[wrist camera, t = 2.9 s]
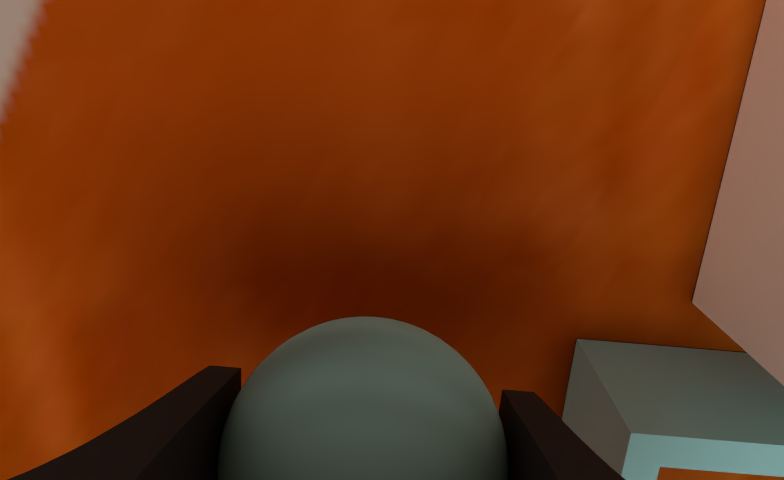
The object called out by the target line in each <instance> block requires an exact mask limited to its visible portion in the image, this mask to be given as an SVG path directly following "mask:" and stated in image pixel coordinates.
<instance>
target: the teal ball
mask: <svg viewBox="0 0 784 480" xmlns="http://www.w3.org/2000/svg"><path fill="white" fill-rule="evenodd" d="M508 469H509V465H508V451H507V444H506V438H505V433H504V429H503V425H502V421H501V419H500V416H499V413H498V411H497V408H496V406H495V403H494V401H493V398H492V396H491V395H490V393H489V391H488V389H487V388H486V386H485V384H484V383H483V381H482V380H481V378H480V377H479V375H478V374H477V373H476V371H475V370H474V369H473V368H472V366H471V365H470V364H469V363H468V362H467V361H466V360H465V359H464V358H463V357H462V356H461V355H460V354H459V353H458V352H457V351H456V350H455V349H453V348H452V347H451V346H449V345H448V344H447V343H445V342H444V341H443V340H441V339H440V338H438V337H437V336H435V335H433V334H431V333H429V332H428V331H426V330H424V329H421V328H419V327H417V326H414V325H412V324H409V323H405V322H402V321H398V320H394V319H388V318H381V317H363V316H359V317H349V318H341V319H337V320H332V321H328V322H325V323H322V324H319V325H316V326H314V327H311V328H309V329H307V330H305V331H303V332H301V333H299V334H297V335H295V336H293V337H291V338H290V339H289V340H287V341H286V342H284V343H283V344H281V345H280V346H278V347H277V348H276V349H275V350H274V351H273V352H272V353H271V354H270V355H269V356H267V357H266V358H265V359H264V360H263V361H262V362H261V363H260V364H259V365H258V366H257V368H256V369H255V370H254V371H253V373H252V374H251V375H250V376H249V377H248V379H247V381H246V382H245V384H244V385H243V387H242V389H241V390H240V392H239V394H238V395H237V397H236V399H235V400H234V403H233V405H232V408H231V410H230V413H229V415H228V418H227V420H226V423H225V426H224V429H223V434H222V438H221V442H220V448H219V455H218V469H217V475H218V480H508Z"/></svg>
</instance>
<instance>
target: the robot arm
mask: <svg viewBox="0 0 784 480" xmlns="http://www.w3.org/2000/svg"><path fill="white" fill-rule="evenodd" d="M240 390H241V368H233V367H221V366H208V367H207V368H205V369H203V370H202V371H200V372H198V373H197V374H195V375H194V376H192V377H191V378H189V379H188V380H187V381H185V382H184V383H182V384H181V385H179V386H178V387H176V388H175V389H173V390H172V391H170V392H169V393H167V394H166V395H164V396H163V397H161V398H160V399H158V400H157V401H155V402H154V403H152V404H151V405H149V406H148V407H146V408H144V409H143V410H141V411H140V412H138V413H137V414H135V415H133V416H132V417H130V418H128V419H127V420H125V421H123V422H122V423H120V424H118V425H116V426H115V427H113V428H111V429H110V430H108V431H106V432H105V433H103V434H101V435H100V436H98V437H96V438H94V439H93V440H91V441H89V442H87V443H85V444H83V445H82V446H80V447H78V448H76V449H74V450H72V451H70V452H68V453H66V454H64V455H62V456H60V457H58V458H56V459H53V460H51V461H49V462H47V463H45V464H43V465H41V466H39V467H37V468H34V469H32V470H30V471H28V472H25V473H23V474H20V475H18V476H15V477H13V478H10V479H8V480H218V475H217V469H218V455H219V448H220V442H221V438H222V434H223V429H224V426H225V423H226V420H227V418H228V415H229V413H230V410H231V408H232V405H233V403H234V400H235V399H236V397H237V395H238V394H239V392H240ZM499 416H500V419H501V421H502V425H503V429H504V433H505V438H506V444H507V451H508V465H509V469H508V480H625V479H624V478H623V477H622V476H621V475H620V474H618V473H617V472H616V471H615V470H614V469H612V468H611V467H610V466H609V465H608V464H607V463H606V462H605V461H604V460H602V459H601V458H600V457H599V456H598V455H597V454H596V453H595V452H594V451H593V450H592V449H591V448H590V447H589V446H588V445H586V444H585V443H584V442H583V441H582V440H581V439H580V438H579V437H578V436H577V435H576V434H575V433H574V432H573V431H572V430H571V429H570V428H569V427H568V426H567V425H566V424H565V423H564V422H563V421H562V420H561V419H560V418H559V417H558V416H557V415H556V414H555V413H554V412H553V411H552V409H551V408H550V407H549V406H548V405H547V404H546V403H545V402H544V401H543V400H542V399H541V398H540V397H539V396H537V395H536V394H535V393H534V392H525V391H513V390H502V395H501V402H500V408H499Z"/></svg>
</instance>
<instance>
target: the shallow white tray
mask: <svg viewBox="0 0 784 480" xmlns="http://www.w3.org/2000/svg"><path fill="white" fill-rule="evenodd" d="M692 303H693V304H694V305H695V306H696V307H697V308H698V309H699V310H701V311H702V312H703V313H704V314H705V315H706V316H707V317H708V318H709V319H710V320H712V321H713V322H714V323H715V324H716V325H717V326H718V327H719V328H720V329H721V330H723V331H724V332H725V333H726V334H727V335H728V336H729V337H730V338H731V339H732V340H734V341H735V342H736V343H737V344H738V345H739V346H740V347H741V348H742V349H743V350H745V351H746V352H747V353H748V354H749V355H750V356H751V357H752V358H753V359H755V360H756V361H757V362H758V363H759V364H760V365H761V366H762V367H763V368H764V369H766V370H767V371H768V372H769V373H770V374H771V375H772V376H773V377H774V378H775V379H777V380H778V381H779V382H780V383H781V384H782V385H783V386H784V0H766V3H765V8H764V12H763V16H762V20H761V24H760V28H759V32H758V36H757V40H756V44H755V48H754V52H753V56H752V60H751V64H750V68H749V73H748V77H747V81H746V85H745V89H744V93H743V97H742V101H741V105H740V109H739V113H738V117H737V121H736V125H735V129H734V133H733V138H732V142H731V146H730V150H729V154H728V158H727V162H726V166H725V170H724V174H723V178H722V182H721V186H720V190H719V194H718V198H717V203H716V207H715V211H714V215H713V219H712V223H711V227H710V231H709V235H708V239H707V243H706V247H705V251H704V255H703V259H702V263H701V268H700V272H699V276H698V280H697V284H696V288H695V292H694V296H693V300H692Z"/></svg>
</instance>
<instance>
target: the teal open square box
mask: <svg viewBox="0 0 784 480" xmlns="http://www.w3.org/2000/svg"><path fill="white" fill-rule="evenodd" d="M562 421H563V422H564V423H565V424H566V425H567V426H568V427H569V428H570V429H571V430H572V431H573V432H574V433H575V434H576V435H577V436H578V437H579V438H580V439H581V440H582V441H583V442H584V443H585V444H586V445H588V446H589V447H590V448H591V449H592V450H593V451H594V452H595V453H596V454H597V455H598V456H599V457H600V458H601V459H602V460H604V461H605V462H606V463H607V464H608V465H609V466H610V467H611V468H612V469H614V470H615V471H616V472H617V473H618V474H620V475H621V476H622V477H623V478H624V479H625V480H657V477H658V473H659V469H660V467H669V468H681V469H693V470H705V471H717V472H730V473H742V474H754V475H766V476H778V477H784V386H783V385H782V384H781V383H780V382H779V381H778V380H777V379H775V378H774V377H773V376H772V375H771V374H770V373H769V372H768V371H767V370H766V369H764V368H763V367H762V366H761V365H760V364H759V363H758V362H757V361H756V360H755V359H753V358H752V357H751V356H750V355H749V354H748V353H744V352H731V351H719V350H707V349H695V348H683V347H671V346H658V345H646V344H634V343H622V342H610V341H597V340H585V339H577V341H576V346H575V352H574V357H573V362H572V368H571V373H570V378H569V384H568V389H567V394H566V400H565V405H564V410H563V416H562Z"/></svg>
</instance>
